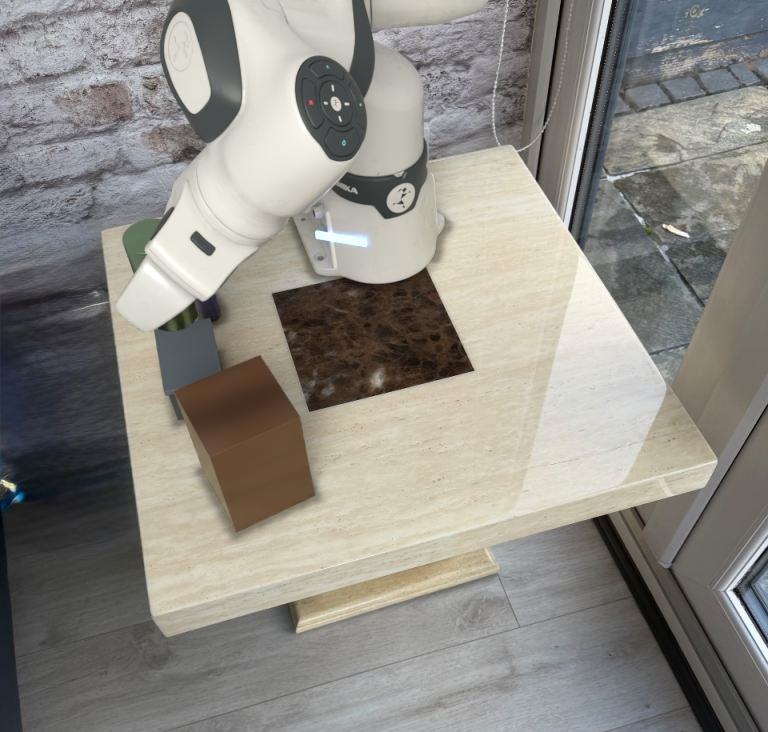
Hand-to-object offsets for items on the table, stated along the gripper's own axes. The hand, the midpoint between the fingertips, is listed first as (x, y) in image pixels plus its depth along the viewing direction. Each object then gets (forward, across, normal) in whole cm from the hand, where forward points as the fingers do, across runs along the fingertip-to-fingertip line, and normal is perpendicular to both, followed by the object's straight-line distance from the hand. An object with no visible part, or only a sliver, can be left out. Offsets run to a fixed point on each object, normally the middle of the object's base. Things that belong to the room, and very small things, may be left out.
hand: (155, 273), depth 83 cm
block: (+3, +10, +21) cm, 23 cm away
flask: (+16, -13, +8) cm, 22 cm away
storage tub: (+11, 0, +12) cm, 17 cm away
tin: (+3, 0, +4) cm, 5 cm away
